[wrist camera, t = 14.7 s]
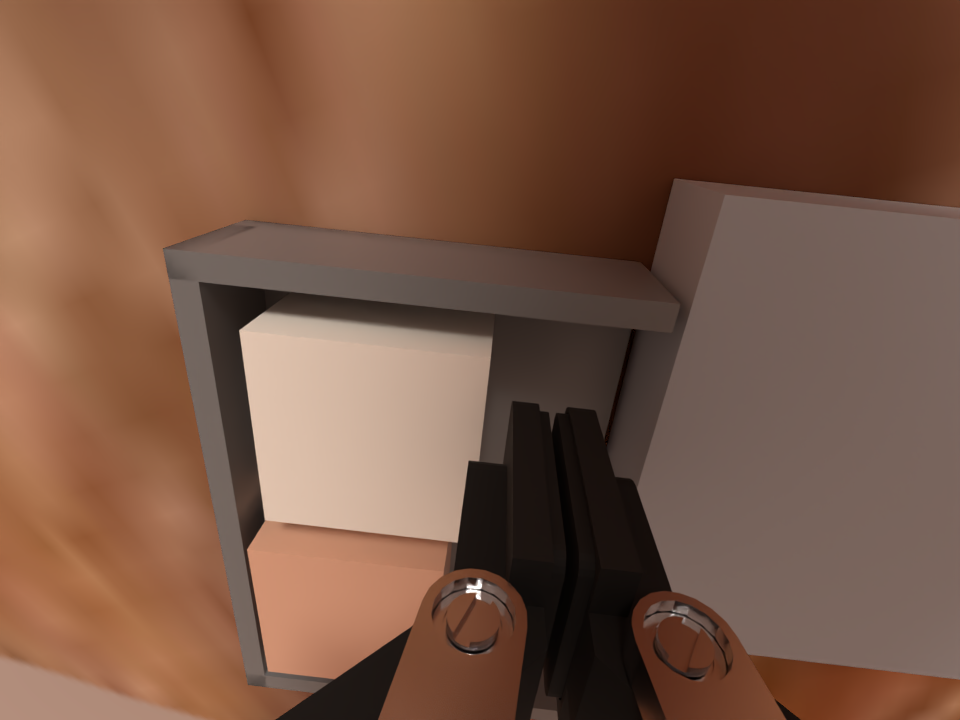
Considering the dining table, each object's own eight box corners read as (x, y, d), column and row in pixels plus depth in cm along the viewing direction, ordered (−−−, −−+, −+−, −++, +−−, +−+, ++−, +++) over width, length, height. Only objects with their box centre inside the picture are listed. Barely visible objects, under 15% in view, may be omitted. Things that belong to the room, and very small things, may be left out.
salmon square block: (443, 571, 12) (456, 490, 15) (247, 549, 12) (295, 473, 15) (434, 690, 14) (447, 601, 17) (267, 671, 14) (306, 585, 17)
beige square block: (490, 357, 10) (495, 306, 12) (239, 330, 10) (299, 285, 12) (469, 544, 12) (477, 465, 14) (264, 520, 12) (311, 446, 14)
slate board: (673, 178, 11) (724, 194, 9) (1246, 237, 11) (1483, 273, 8) (579, 552, 16) (593, 635, 14) (966, 597, 16) (1056, 691, 14)
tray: (245, 219, 12) (163, 248, 9) (640, 262, 12) (680, 304, 9) (289, 597, 18) (248, 684, 15) (552, 628, 18) (560, 722, 15)
